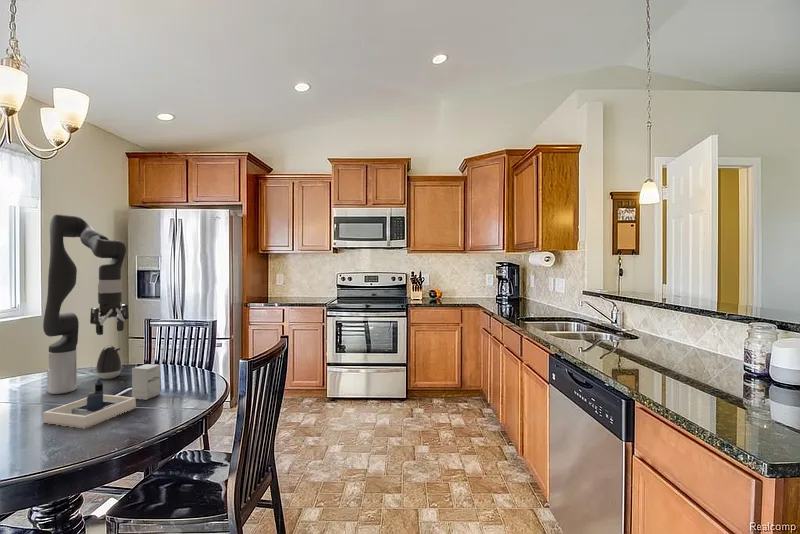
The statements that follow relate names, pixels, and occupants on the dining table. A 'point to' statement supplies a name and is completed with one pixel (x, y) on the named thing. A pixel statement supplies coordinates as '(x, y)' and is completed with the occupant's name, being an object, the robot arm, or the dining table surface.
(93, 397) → the vaping device
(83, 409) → the inlet socket
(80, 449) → the dining table surface
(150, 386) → the supplement box
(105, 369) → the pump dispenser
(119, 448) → the dining table surface
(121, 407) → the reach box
